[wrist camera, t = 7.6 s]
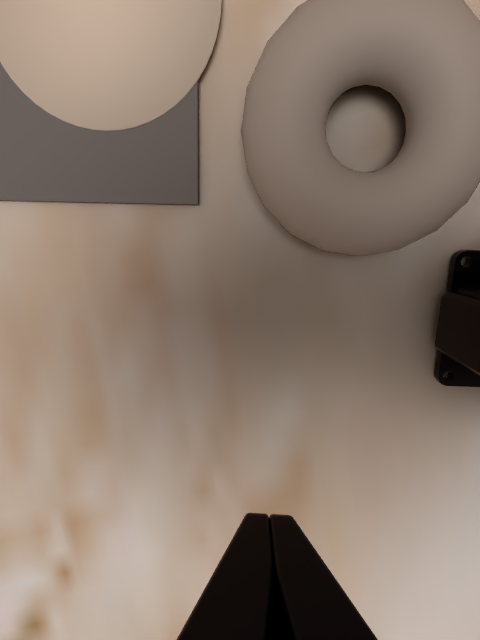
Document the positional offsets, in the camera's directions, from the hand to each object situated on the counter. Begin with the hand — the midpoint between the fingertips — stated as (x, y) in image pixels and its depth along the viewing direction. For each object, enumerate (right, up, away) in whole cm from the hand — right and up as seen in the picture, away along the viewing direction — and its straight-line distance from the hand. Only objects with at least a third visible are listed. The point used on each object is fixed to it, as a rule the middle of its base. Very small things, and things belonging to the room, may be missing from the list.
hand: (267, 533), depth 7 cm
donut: (+1, +16, +7) cm, 17 cm away
